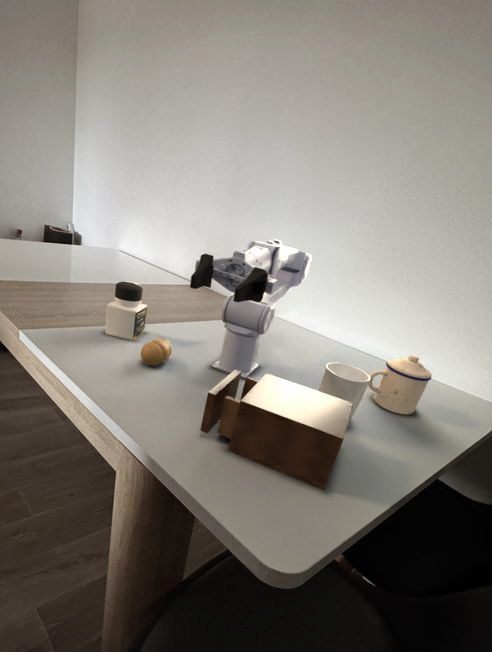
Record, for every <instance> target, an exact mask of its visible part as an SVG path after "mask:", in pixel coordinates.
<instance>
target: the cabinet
mask: <svg viewBox="0 0 492 652" xmlns="http://www.w3.org/2000/svg"><path fill="white" fill-rule="evenodd" d="M258 380H259V381H258V383H257V384H256V385H255V386H254V387H253V388H252V389H251V390H250V391H249V392H248V393H247V394H246V395H245V396H244V397H243V399H242V400H241V401H240V400H239V401H240V405H239V409H238V413H237V417H236V421H235V425H234V429H233V433H232V437H231V439H230V441H229V445H228V449H227V450H228V452H232V453H234V454H237V455H238V456H241V457H243V458H246V459H248V460H251V461H253V462H255V463H258V464H260V465H263V466H264V467H267V468H270V469H272V470H274V471H276V472H280V473H282V474H284V475H286V476H289V477H291V478H293V479H296V480H299V481H301V482H303V483H306V484H307V485H310V486H313V487H315V488H318V489H320V490H322V491H324V490H325V487H326V484H327V482H328V480H329V478H330V475H331V472H332V470H333V468H334V465H335V462H336V460H337V458H338V455H339V453H340V450H341V448H342V445H343V442H344V440H345V436H346V432H347V429H348V426H349V424H348V421H349V417H350V413H351V410H352V406H353V403H351V402H348V401H345V400H342V399H340V398H337V397H334V396H331V395H328V394H325V393H322V392H319V390H316V389H314V388H310V387H307V386H305V385H302V384H299V383H295V382H293V381H290V380H287V379H284V378H281V377H278V376H276V375H273V374H270V373H267V372H266V373H265V374H264V375H263V376H262V377H261V378H260V379H258ZM347 425H348V426H347Z"/></svg>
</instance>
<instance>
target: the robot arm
mask: <svg viewBox="0 0 492 652" xmlns="http://www.w3.org/2000/svg"><path fill="white" fill-rule="evenodd" d="M312 261H313V257H312V254H311V253H307V252H306V251H303V250H299V249H297V248H293V247H288V246H285V245H283V244H282V240H278V239H273V240H266V242H263V241H259V240H253V239H251V240H250V241H249V242H248V244H247V245H246V247H245V249H243V251H240V250H234V251H233V254H232V256H229V257H219V258H215V257H214V255H213V254H208V253H203V254H201V255H200V258H199V259H197V260H195V267H194V272H193V274H192V275H191V276H190V283H189V288H190V289H194V290H197V289H200V288H203V287H205V288H206V287H207V288H208V289H210V288H212V281H213V280H214V281H215V282H217V283H218V284H219V285H221V286H222V287H223V288H224V289H226V290H227V291H229V292H231V293H230V294H229V295H227V296H226V298H225V300H223V303H222V306H221V312H220V319H221V322H222V323H224V325H223V328H225V334H224V339H223V344H222V348H221V353H220V358H219V360H217V361H216V362H214V363H212V368H214V369H216V370H219V371H223V372H225V373H228V374H230V373H232V372H233V371H234V370H235V369H236V370H239V371H242V372H241V377H240V378H242V379H246V377H247V376H248V377H250V375H251V374H252V373H253V372H254V371H255V370H256V369H257V368H258V367H259V366H260V365H259V363H257V362H256V361H257V356H258V353H259V348H260V346H261V345H260V344H261V336H263V335H264V334H266V333H267V331H268V330H269V329H270V326H271V324H272V323H273V320H274V317H275V313H276V304H277V303H279V302H280V301H282V299H283V298H284V297H285V296H286V295H287V294H288V293H289V292H290V290H292V288H295V287H299V286H300V285H301V284H302V283H303V282H304V281H305V280H306V278H307V276H308V274H309V272H310V269H311V265H312Z"/></svg>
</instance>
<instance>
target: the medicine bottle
mask: <svg viewBox="0 0 492 652" xmlns="http://www.w3.org/2000/svg"><path fill="white" fill-rule="evenodd" d="M114 288H115V290H114V300H113V301H111V302H110V303H107V305H106V313H105V317H106V318H105V331H104V333H105V334H106V335H109V336H113V337H116V338H120V339H125V340H129V341H135V340H136V339H137V338H139V337H140V336H141V335H142V334H144V333H145V328H146V321H147V320H146V319H147V310H148V305H147V304H146V303H142V300H143V290H144V289H143V286H142V285H141V284H139V283H138V282H137V283H136V282H133V281H127V280H126V281H125V280H124V281H123V280H122V281H119V282H117V283H116V284H115V287H114Z"/></svg>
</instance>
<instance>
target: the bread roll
mask: <svg viewBox="0 0 492 652" xmlns="http://www.w3.org/2000/svg"><path fill="white" fill-rule="evenodd" d="M172 350H173V349H172V345H171V343H170V342H169V341H168V340H167V339H164V338H159V337H158V338H155V339H153V340H151V341H148V342H146V343H145V344H144V345H143V346H142V347H141V349H140V357H141V360H142V362H144V363H145V364H146V365H148V366H157V365H159V364H161V363H164V362H165V361H167V360H168V359H169V358H170V357H171V355H172V353H173V351H172Z"/></svg>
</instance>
